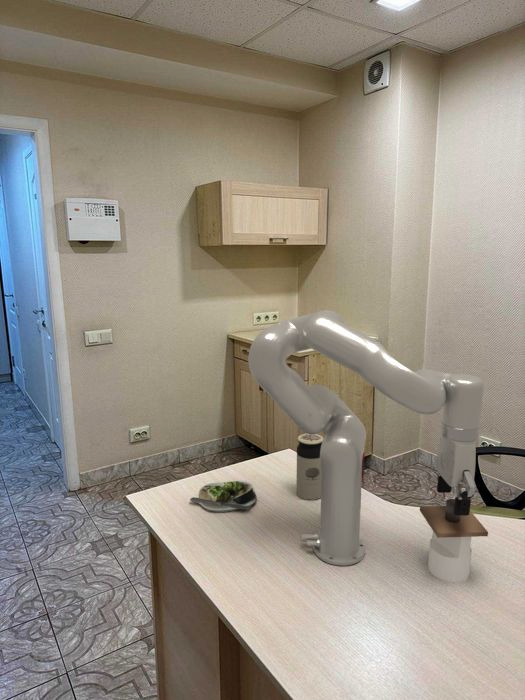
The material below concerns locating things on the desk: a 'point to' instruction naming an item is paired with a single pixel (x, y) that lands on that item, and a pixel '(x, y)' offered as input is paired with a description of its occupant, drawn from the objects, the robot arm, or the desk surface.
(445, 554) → the white cylindrical piece
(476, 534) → the lid
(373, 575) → the desk surface
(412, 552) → the desk surface
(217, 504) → the salad plate
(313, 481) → the travel mug
